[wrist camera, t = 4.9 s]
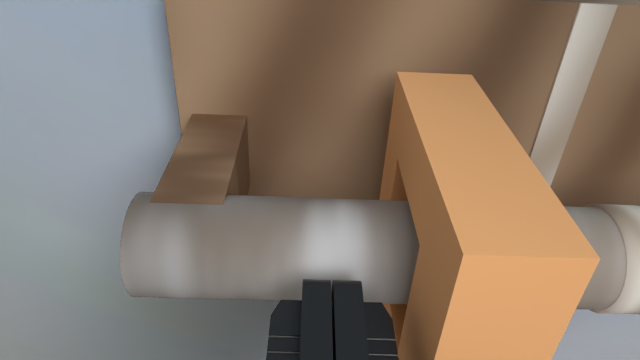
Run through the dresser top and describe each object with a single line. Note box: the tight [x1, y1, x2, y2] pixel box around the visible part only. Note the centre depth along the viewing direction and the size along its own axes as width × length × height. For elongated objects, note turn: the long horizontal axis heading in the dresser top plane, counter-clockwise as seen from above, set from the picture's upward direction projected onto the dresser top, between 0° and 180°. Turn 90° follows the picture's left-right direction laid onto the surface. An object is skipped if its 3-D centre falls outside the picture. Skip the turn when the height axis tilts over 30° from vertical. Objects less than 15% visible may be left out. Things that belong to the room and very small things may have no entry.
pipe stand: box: [120, 0, 640, 314], centre depth 17 cm, size 22×12×9 cm, turn 87°
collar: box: [379, 72, 600, 360], centre depth 14 cm, size 2×8×8 cm, turn 177°
